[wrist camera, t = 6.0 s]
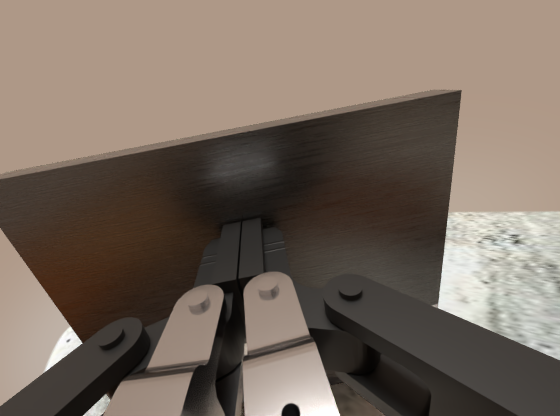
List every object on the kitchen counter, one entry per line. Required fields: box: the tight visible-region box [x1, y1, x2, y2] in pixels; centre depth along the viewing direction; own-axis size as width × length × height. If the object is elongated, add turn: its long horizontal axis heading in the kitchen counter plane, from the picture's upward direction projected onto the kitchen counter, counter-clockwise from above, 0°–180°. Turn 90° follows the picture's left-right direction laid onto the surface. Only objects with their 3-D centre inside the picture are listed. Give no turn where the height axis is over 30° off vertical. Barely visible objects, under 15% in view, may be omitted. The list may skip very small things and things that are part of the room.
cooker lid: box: [0, 90, 461, 355], centre depth 19 cm, size 17×17×11 cm
